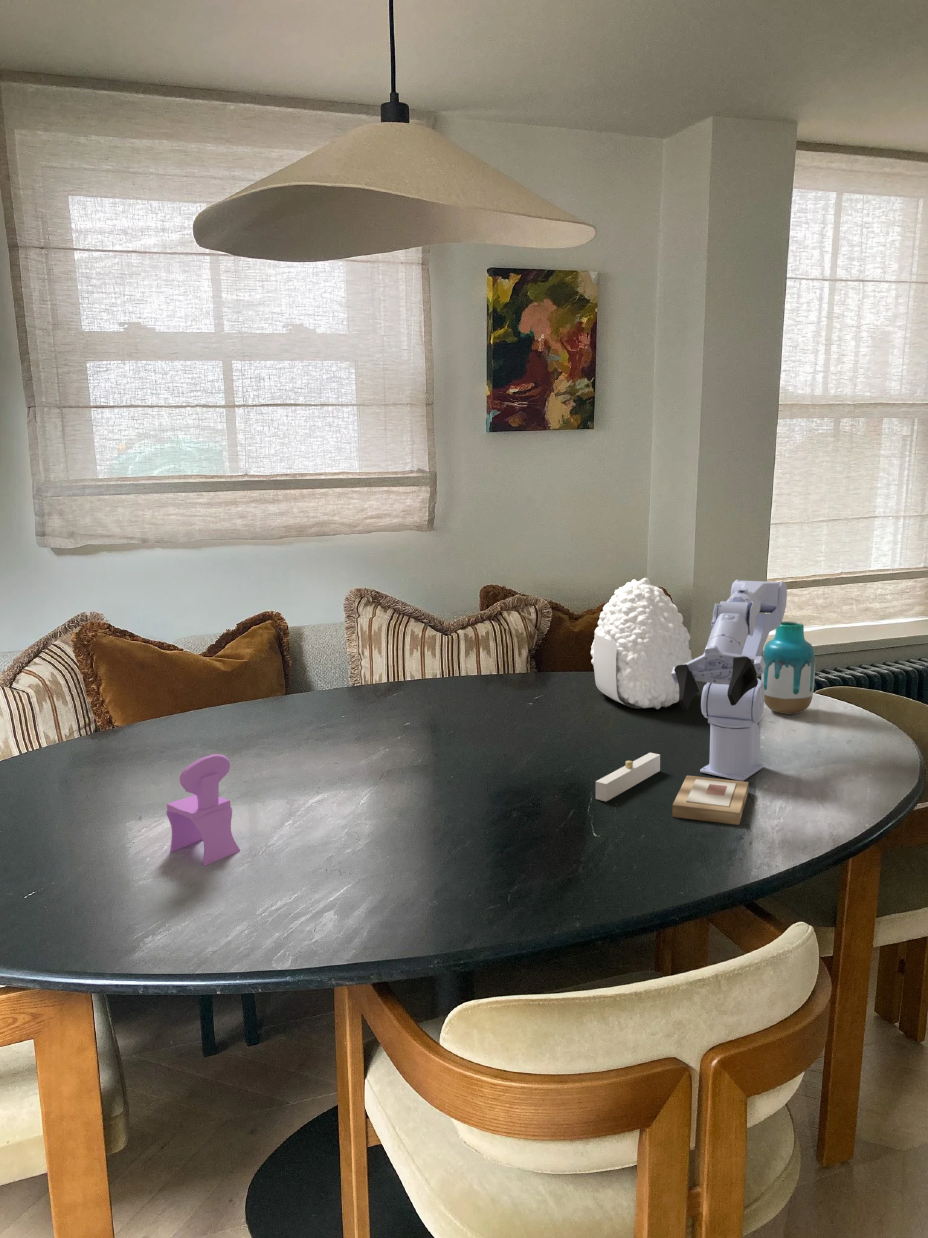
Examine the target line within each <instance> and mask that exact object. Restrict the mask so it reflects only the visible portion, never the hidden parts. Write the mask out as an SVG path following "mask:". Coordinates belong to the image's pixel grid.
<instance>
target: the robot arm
mask: <svg viewBox="0 0 928 1238" xmlns="http://www.w3.org/2000/svg"><path fill="white" fill-rule="evenodd" d="M787 598H788V586H787V584H786V583H785V581H781V580H780V581H766V580H765V581H761V580H759V581H758V580H740V579H735V581H733V582H732V585H731V589H730V596H729V598H727V600H726V601H723V600H721V601H720V602H719V603H716V602H715V603H714V607H713V611H712V620H711V624H710V630H711V631H710V634H709V637H708V639H707V643H706V645H705V648H704V651H703V654H701V655H699V656H698V657H695V658H694V659H693V658H692V660H691V661H689V662H687V663H685V664H683V665H678V666H676V667H674V668H673V670H672V673H671V675H672V678H673V680H674V682H675V683H678V685H679V701H678V702H679V705H680V707H681V710H682V711H687V710H688V709H689V707H690V706H691V703H692V700H693V699H694V697H695V695H697V694H698V693H700V689H699V687H698V685H697V683H696V682H702V683H706V684H704V686H703V688H702V691H701V698H700V709H701V714H702V715H703V718H706V719H707V723H708V724H709V726H710V729H709V730H710V731H709V732H710V733H709V734H710V735H709V761H708V762H709V763H708V764H707V765H705V766H703V767H702V768H700V770H699V771H700V773H703V774H708V775H712V776H718V777H722V778H726V779H728V780H730V779H731V780H733V781H742V782H745V780H747V779H748V778H750V777H751V776H753V775H755V774H756V773H757V772H759V771H760V770H762V769H763V768H764V767H765V764H764V763H761V762H760V752H761V751H760V750H761V730H760V727H759V725H758V723H759V722H761V720H762V718H763V713H764V706H765V703H764V699H765V690H764V685H763V682H762V681H761V679H760V678H758V676H757V675H760V674H761V675H762V674H763V673H764V671H765V667H766V665H765V662H764V660H763V655H762V654H763V651H764V648H765V645H766V644H765V643H767V639H768V636H769V634H770V632H772V631H774V630H776V628H778V627H780V623H781V622H783V619H784V616H785V613H786V607H787Z"/></svg>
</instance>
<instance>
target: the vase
mask: <svg viewBox="0 0 928 1238" xmlns="http://www.w3.org/2000/svg"><path fill="white" fill-rule="evenodd" d="M804 628H805V626H804V624H803V623H802V622H798V621H792V620H791V621H790V620H789V621H783V620H782V622H781V623H780V627H778V628H776V629H775V633H774V634H775V635H774V637H773V639H771V640H769V641H768V642H766V644H764V647H763V651H762V657H763V660H764V662H765V665H766V667H765V671H764V673H763V674H761V675H760V676H761V677H760V678H761V679H760V680H761V681H762V682H763V685H764V690H765V699H764V705H765V706H766V707H767V709H769V710H771V711H773V712H775V713H776V712H777V713H779V714H787V715H788V714H789V715H790V714H799V713H802V712H804V711H806V710H807V709H808V708H809V707H810V705H811V703H812V701H813V697H814V689H815V679H816V677H815V675H816V655H815V654H816V653H815V649H814V647H813V645H812V644H811V643H810V642H808V641H807V640H806V638H805V632H804V631H805V630H804Z"/></svg>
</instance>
